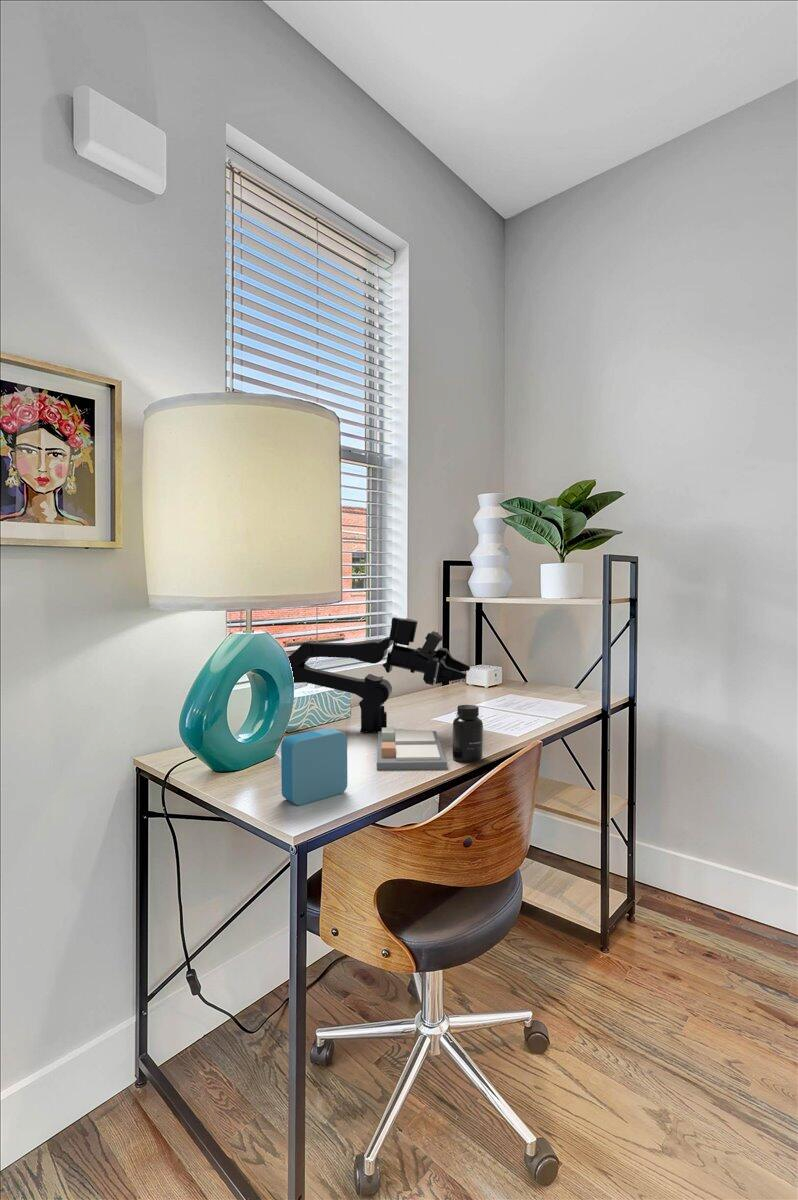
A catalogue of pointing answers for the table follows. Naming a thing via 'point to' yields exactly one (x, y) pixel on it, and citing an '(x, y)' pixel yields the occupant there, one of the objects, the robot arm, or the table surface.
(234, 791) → the table surface
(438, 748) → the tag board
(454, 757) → the supplement bottle
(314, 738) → the blue rounded square block
